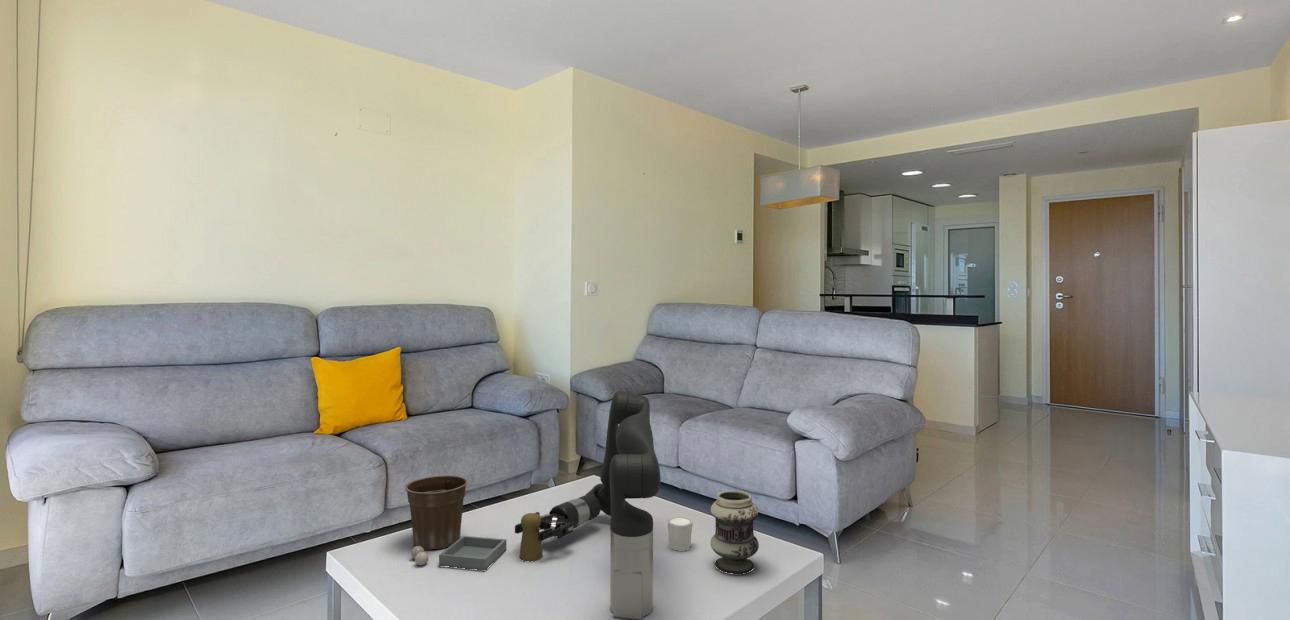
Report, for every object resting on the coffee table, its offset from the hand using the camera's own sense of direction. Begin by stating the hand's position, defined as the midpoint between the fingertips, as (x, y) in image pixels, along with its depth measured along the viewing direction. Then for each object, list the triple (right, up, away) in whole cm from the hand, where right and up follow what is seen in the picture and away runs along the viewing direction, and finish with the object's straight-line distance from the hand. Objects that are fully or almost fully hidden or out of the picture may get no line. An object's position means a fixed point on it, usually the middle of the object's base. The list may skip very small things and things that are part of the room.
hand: (527, 533), depth 153 cm
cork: (+1, -7, +1) cm, 7 cm away
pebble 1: (-28, -6, 0) cm, 29 cm away
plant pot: (-27, -6, +11) cm, 30 cm away
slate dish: (-14, -6, 0) cm, 15 cm away
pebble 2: (-26, -6, -4) cm, 27 cm away
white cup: (+40, -7, +8) cm, 41 cm away
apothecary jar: (+53, -7, -4) cm, 53 cm away
